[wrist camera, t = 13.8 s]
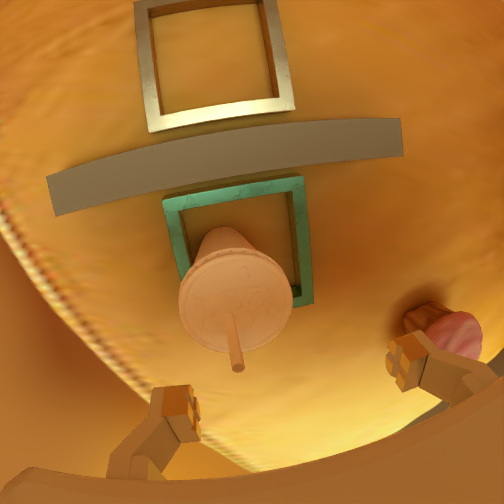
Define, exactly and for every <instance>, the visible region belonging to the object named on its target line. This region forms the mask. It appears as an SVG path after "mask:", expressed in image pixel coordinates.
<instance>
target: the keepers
mask: <svg viewBox="0 0 504 504" xmlns="http://www.w3.org/2000/svg"><path fill="white" fill-rule="evenodd" d="M253 3H257V4H258V9H259V15H260V20H261V25H262V31H263V37H264V42H265V48H266V54H267V60H268V66H269V72H270V78H271V85H272V91H273V98H270V99H261V100H252V101H244V102H236V103H229V104H222V105H216V106H210V107H204V108H198V109H193V110H187V111H182V112H177V113H173V114H168V115H164V114H163V107H162V100H161V94H160V87H159V79H158V72H157V64H156V56H155V47H154V39H153V29H152V19H151V18H154V17H158V16H162V15H167V14H172V13H177V12H183V11H189V10H195V9H202V8H209V7H217V6H227V5H238V4H253ZM134 16H135V28H136V39H137V49H138V58H139V67H140V75H141V83H142V91H143V98H144V105H145V111H146V118H147V124H148V130H149V133H157V132H162V131H166V130H171V129H176V128H181V127H186V126H191V125H196V124H201V123H207V122H213V121H219V120H225V119H232V118H239V117H246V116H254V115H262V114H271V113H281V112H289V111H292V110H295V104H294V97H293V91H292V84H291V78H290V72H289V66H288V60H287V54H286V49H285V43H284V38H283V32H282V27H281V22H280V17H279V12H278V7H277V2H276V0H140V1H136V2H134ZM280 192H286V194H287V203H288V212H289V221H290V230H291V239H292V249H293V259H294V270H295V281H296V286H292V287H291V291H292V297H293V305H292V308H296V307H300V306H305V305H309V304H314V296H313V279H312V264H311V250H310V237H309V225H308V214H307V203H306V193H305V184H304V176H303V175H301V174H298V173H291V174H284V175H277V176H270V177H263V178H257V179H251V180H245V181H239V182H233V183H227V184H221V185H216V186H210V187H205V188H200V189H194V190H189V191H184V192H179V193H175V194H170V195H165V196H164V198H163V199H162V204H163V208H164V213H165V217H166V222H167V226H168V231H169V235H170V239H171V243H172V247H173V251H174V256H175V260H176V264H177V267H178V271H179V275H180V279H181V282H182V280H183V279H184V277H185V275H186V274H187V272H188V270H189V269H190V268H191V267H192V266H193V262H192V258H191V253H190V249H189V245H188V240H187V236H186V231H185V226H184V222H183V217H182V212H181V210H184V209H189V208H195V207H200V206H205V205H210V204H216V203H221V202H227V201H232V200H238V199H244V198H249V197H255V196H261V195H267V194H274V193H280Z"/></svg>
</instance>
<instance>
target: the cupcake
mask: <svg viewBox="0 0 504 504" xmlns="http://www.w3.org/2000/svg"><path fill="white" fill-rule="evenodd" d="M403 323H404V326H405V330H406V333H407V334H409V333H412V332H415V331H417V330H421V331H422V332H423V333H424V334H425V335H426V336H427V337H428V338H429V339H430V340H431V341H432V342H433V343H434V344H435V345H436V347H437V348H438V349H439V350H446V351H449V352H452V353H455V354H458V355H461V356H464V357H467V358H470V359H473V360H476V361H477V360H478V358H479V355H480V353H481V348H482V345H481V343H482V337H483V335H482V331H481V327H480V325H479V322H478V321H477V320H476V318H475V317H474V316H473V315H471V314H470V313H467V312H463V311H459V312H453V311H451V310H449V309H447V308H446V307H444V306H443V305H440V304H438V303H436V302H432V301H431V302H429V303H426V304H425V305H422V306H420V307H419V308H417V309H415V310H412V311H409V312H408V313H406V314H405V316H404V318H403Z"/></svg>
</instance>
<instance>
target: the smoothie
mask: <svg viewBox="0 0 504 504" xmlns="http://www.w3.org/2000/svg"><path fill="white" fill-rule="evenodd" d="M178 301H179V306H178V308H179V316H180V319H181V322H182V325H183V327H184V328H185V330H186V331H187V333H188V334H189V335H190V336H191V337H192V338H193V339H194V340H195V341H196V342H198V343H199V344H201V345H202V346H204V347H206V348H208V349H211V350H214V351H217V352H223V353H229V354H230V360H231V366H232V370H233V371H234V372H237V373H239V372H242V371H243V370H244V369H245V365H244V361H243V356H242V352H247V351H251V350H254V349H257V348H259V347H261V346H263V345H265V344H267V343H268V342H270V341H271V340H272V339H274V338H275V337H276V336H277V335H278V334H279V333H280V332H281V331H282V329H283V328H284V327H285V325H286V323H287V322H288V319H289V317H290V314H291V311H292V305H293V297H292V291H291V287H290V284H289V282H288V279H287V277H286V275H285V273H284V271H283V269H282V268H281V267H280V266H279V265H278V264H277V263H276V262H275V261H274V260H273V259H272V258H270V257H268V256H267V255H265V254H263V253H261V252H259V251H257V250H256V249H255V248H254V247H253V246H252V245H251V244H250V243H249V242H248V241H247V240H246V239H245V238H244V237H243V236H242V235H241V234H240V233H239V232H238V231H236V230H235V229H233V228H230V227H217V228H214V229H212V230H211V231H209V232H208V233H207V234H206V235H205V237H204V238H203V240H202V243H201V245H200V248H199V251H198V254H197V256H196V259H195V262H194V265H193V266H192V267H191V268H190V269H189V270H188V272H187V274H186V275H185V277H184V279H183V280H182V282H181V286H180V290H179V294H178Z"/></svg>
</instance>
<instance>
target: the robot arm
mask: <svg viewBox="0 0 504 504" xmlns="http://www.w3.org/2000/svg"><path fill="white" fill-rule="evenodd" d="M388 349H389V350H390V351H389V352H388V354H387V355H386V361H385V362H386V368H387V370H388V372H389V374H390V375H391V376H393V377H395V378H396V382H395V383H396V384H397V386H398V387H399V388H400V390H401V391H402V392H405V391H408V390H410V389H413V388H416V387H418V386H419V388H421V389H423V390H425V391H427V392H429V393H430V394H432V395H434V396H436V397H438V398H440V399H442V400H444V401H445V402H448V403H449V404H450V406H449V408H448V409H447V410H445V411H443V412H441V413H440V414H437V415H435V416H433V417H431V418H429V419H427V420H425V421H423V422H421V423H419V424H417V425H414V426H412V427H410V428H407V429H405V430H403V431H400V432H398V433H396V434H393V435H391V436H388V437H386V438H383V439H380V440H378V441H375V442H372V443H370V444H367V445H364V446H361V447H358V448H355V449H352V450H349V451H346V452H343V453H339V454H336V455H332V456H329V457H325V458H322V459H318V460H314V461H310V462H306V463H302V464H298V465H293V466H289V467H284V468H279V469H274V470H269V471H263V472H257V473H251V474H244V475H237V476H228V477H220V478H208V479H196V480H172V481H171V480H170V481H167V480H166V479H165V477H164V476H163V475H162V474H161V473H162V472H163V470H164V469H165V467H166V466H167V464H168V463H169V461H170V460H171V458H172V457H173V455H174V454H175V452H176V451H177V449H178V448H179V446H180V443H188V442H197V441H201V428H200V425H199V423H198V422H199V421H200V420H201V417H200V408H199V404H198V401H197V398H196V397H194V396H193V388H192V386H191V385H190V384H189V385H178V386H166V387H154V388H153V390H152V394H151V401H150V407H149V414H148V418H144V419H143V421H141V423H140V424H139V425H138V426H137V427H136V428H135V429H134V430H133V431H132V432H131V433H130V434H129V435H128V436H127V437H126V438H125V439H124V440H123V442H121V444H120V445H119V446H118V447H117V448H116V449H115V450H114V451H113V452H112V453H111V454H110V458H109V464H108V469H107V474H106V478H98V477H97V478H96V477H89V476H81V475H74V474H68V473H62V472H56V471H51V470H46V469H41V468H37V467H29V468H27V469H25V470H24V471H22V472H21V473H20V474H18V475H17V476H15V477H14V478H13V479H12V480H10V481H9V482H8V483H7V484H6V485H5V486H4V488H3V490H2V491H1V493H0V504H504V376H503V377H501V378H498V377H497V376H496V374H495V373H494V372H493V371H492V370H491V369H490V368H489V367H488V366H487V365H486V364H485V363H483V362H480V361H476V360H473V359H470V358H467V357H464V356H461V355H458V354H455V353H452V352H449V351H446V350H439V349H438V348H437V347H436V345H435V344H434V343H433V342H432V341H431V340H430V339H429V338H428V337H427V336H426V335H425V334H424V333H423V332H422V331H421V330H417V331H415V332H412V333H409V334H406V335H403V336H401V337H398V338H395V339H392V340H390V341H389V343H388Z"/></svg>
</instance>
